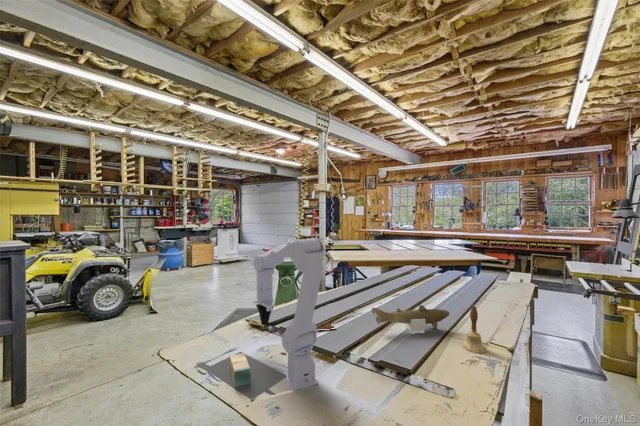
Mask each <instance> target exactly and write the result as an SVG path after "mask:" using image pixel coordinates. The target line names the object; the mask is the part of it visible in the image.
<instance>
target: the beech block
mask: <svg viewBox="0 0 640 426" xmlns="http://www.w3.org/2000/svg"><path fill="white" fill-rule="evenodd" d="M235 354H236V355H235ZM235 354H233V355H230V356H229V357H230V371H231V375H232V379H233V382H234V386H235V387H237V386H241V385H245V384H249V383H250V367H249V364H248V362H247V359H246V356H245V354H246V353H245V352H242V353H241V354H237V353H235Z"/></svg>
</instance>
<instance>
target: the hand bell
mask: <svg viewBox="0 0 640 426" xmlns="http://www.w3.org/2000/svg"><path fill="white" fill-rule="evenodd" d="M478 315H479V314H478V310H477V306H475V305H472V306H471V308H470V312H469V316H470V321H471V330H470V331H468V332H467V334H466V335H467V336H466V339H465V341H464V342H462V344H461V347H462V348H463V349H464V350H465V351H467V352H469V353H473V354H485V353H486V352H487V347H486V346H484V344H483V342H482V336H481V334H480V333H479V332H477V322H478Z"/></svg>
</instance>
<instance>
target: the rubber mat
mask: <svg viewBox="0 0 640 426" xmlns="http://www.w3.org/2000/svg"><path fill="white" fill-rule="evenodd" d="M241 353H243V352H242V351H239V352H237V353H234V355H236V354H241ZM244 354H245V356H246V359H247V362H248V364H249V367H250V383H249V384H245V385H241V386H237V387H235V386H234V382H233V379H232V375H231V371H230V356H228V357H227V358H224V359H222V360H220V361H218V362H216V363H214V364H211V365H210V366H208V367H206V368H204V369H205V370H206V371H207V372H209V373H211V375H213V376H215V377H216V378H218V379H220V380H221V381H223V382H224V383H225V384H227V385H229V386H230V387H232V388H233V389H235V390H236V391H238V392H239V393H241V394H242V395H244V396H245V397H246V398H249V400H250V402H252V403H253V402H254V401H255V400H256V398H257V397H258V396H260V395H262V394H264V392H266V391H267V390H269V389H271V388H272V387H273V386H275V385H277V384H279V383H280V382H281V381H283V380H284V379H287V378H286V377H287V376H286V375H285V374H286V373H285V374H284V372H281V371H279V370H277V369H276V368H273V367H272V366H269V365H268V364H266V363H263V362H261V361H260V360H258V359H256V358H254V357H252V356H249V355H248V354H246V353H244Z"/></svg>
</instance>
